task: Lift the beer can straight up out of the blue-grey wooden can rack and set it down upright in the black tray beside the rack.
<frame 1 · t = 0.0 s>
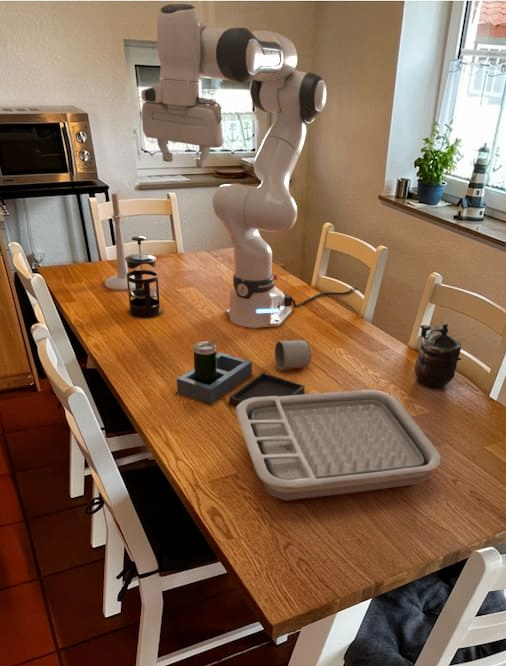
hand: (184, 164, 135), 48 cm above the table, tool pointing down, fingers open, 8 cm apart
french press: (144, 312, 183), on the table
dish rack: (331, 462, 123), on the table
ceramic mug: (289, 365, 159), on the table
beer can: (206, 391, 144), resting in can rack
candlestick: (124, 284, 202), on the table
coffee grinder: (429, 384, 156), on the table
tray: (267, 398, 143), on the table
can rack: (215, 384, 147), on the table
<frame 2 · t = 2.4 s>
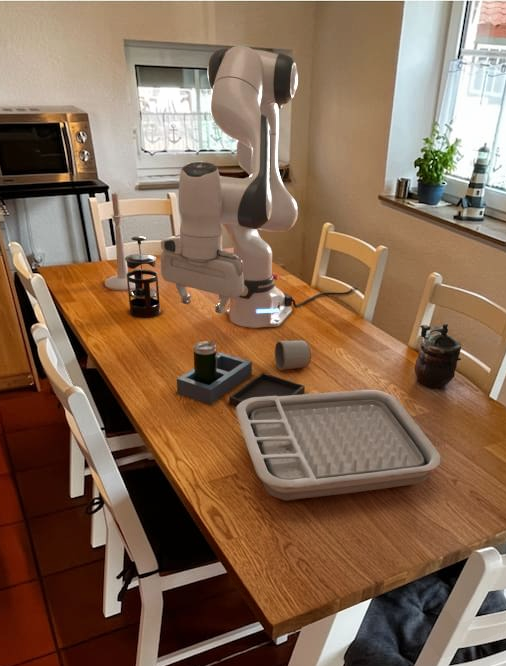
hand: (203, 307, 133), 21 cm above the table, tool pointing down, fingers open, 8 cm apart
nothing on the table moved.
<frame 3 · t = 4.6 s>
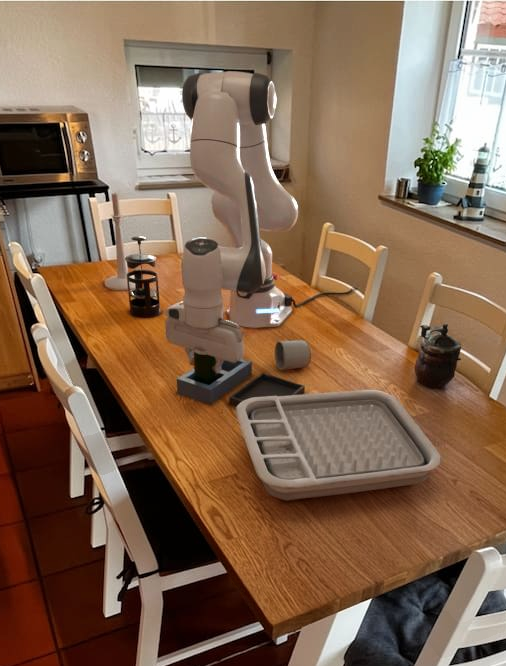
hand: (205, 368, 141), 6 cm above the table, tool pointing down, fingers closed on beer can, 5 cm apart
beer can: (206, 391, 144), resting in can rack, touching gripper
everything else where it was.
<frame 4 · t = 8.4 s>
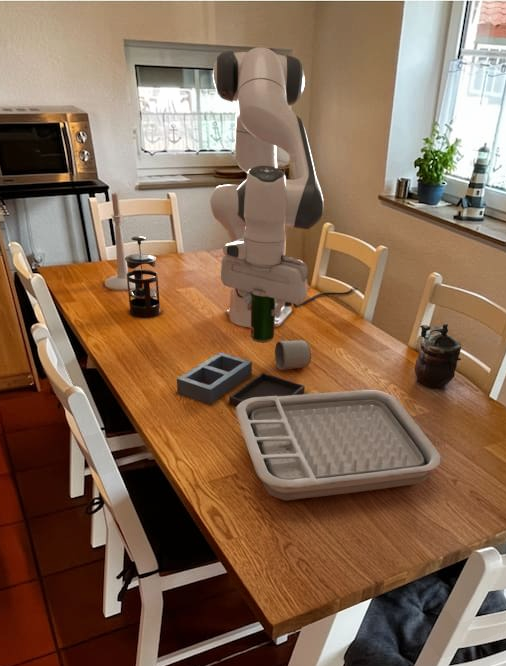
hand: (262, 313, 131), 22 cm above the table, tool pointing down, fingers closed on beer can, 5 cm apart
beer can: (262, 339, 135), point 15 cm above the table, touching gripper
everything else where it was.
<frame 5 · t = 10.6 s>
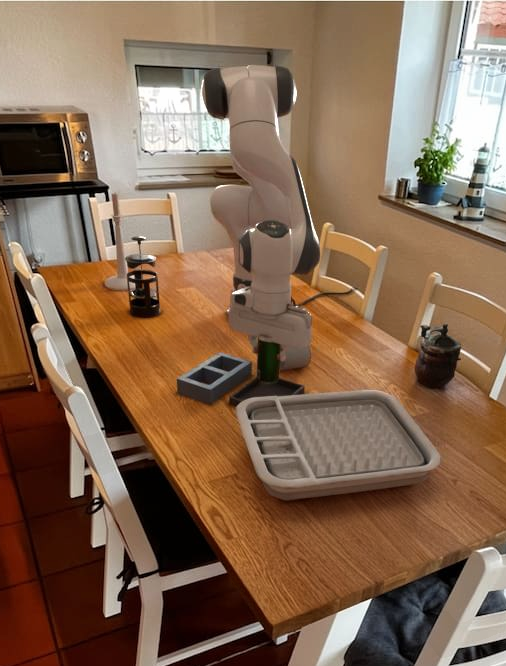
hand: (268, 356, 137), 11 cm above the table, tool pointing down, fingers closed on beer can, 5 cm apart
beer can: (267, 380, 140), point 5 cm above the table, touching gripper
everything else where it was.
when the fingers open (7 cm above the table, at t = 12.3 s): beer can stays where it is, resting on tray.
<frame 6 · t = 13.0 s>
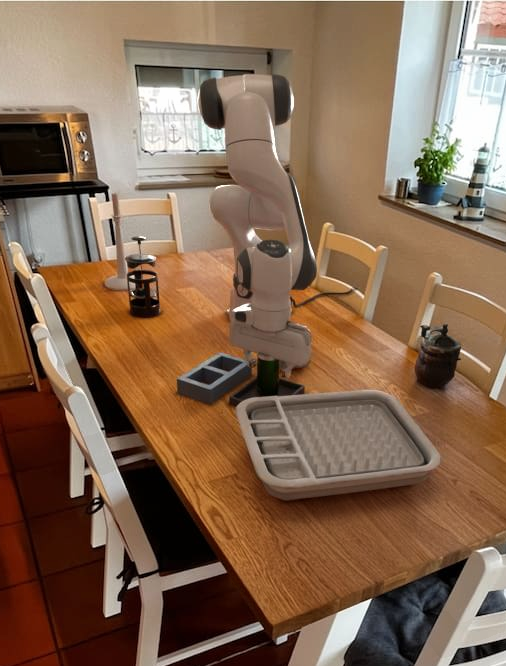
hand: (268, 371, 139), 7 cm above the table, tool pointing down, fingers open, 8 cm apart
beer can: (267, 397, 143), resting on tray
everything else where it was.
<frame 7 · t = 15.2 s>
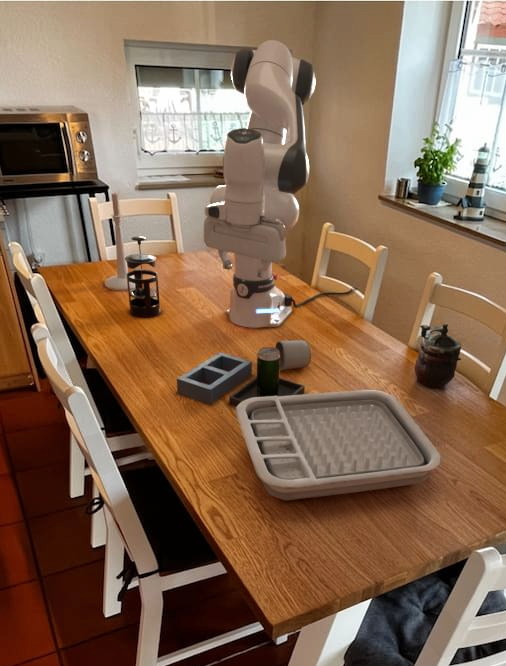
hand: (244, 273, 137), 27 cm above the table, tool pointing down, fingers open, 8 cm apart
nothing on the table moved.
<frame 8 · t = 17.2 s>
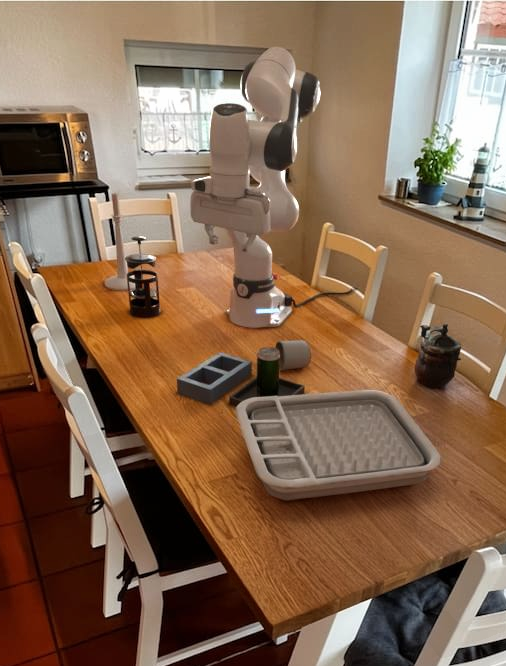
hand: (230, 247, 140), 31 cm above the table, tool pointing down, fingers open, 8 cm apart
nothing on the table moved.
at the end: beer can inside the target area in the tray (0.1 cm from its centre), point 0.4 cm above the tray's base; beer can tilted 0°; the gripper is holding nothing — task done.
